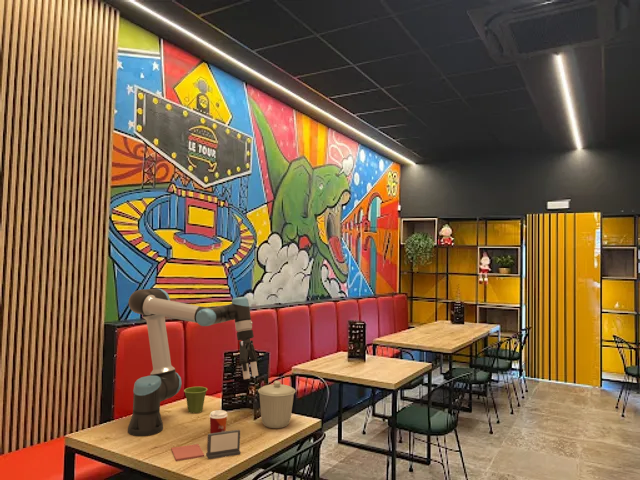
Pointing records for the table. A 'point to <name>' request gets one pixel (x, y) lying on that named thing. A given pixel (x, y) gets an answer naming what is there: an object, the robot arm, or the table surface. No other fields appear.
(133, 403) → the robot arm
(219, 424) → the paper cup
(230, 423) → the table surface
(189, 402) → the plant pot
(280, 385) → the canister
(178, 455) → the coaster
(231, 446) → the menu holder
